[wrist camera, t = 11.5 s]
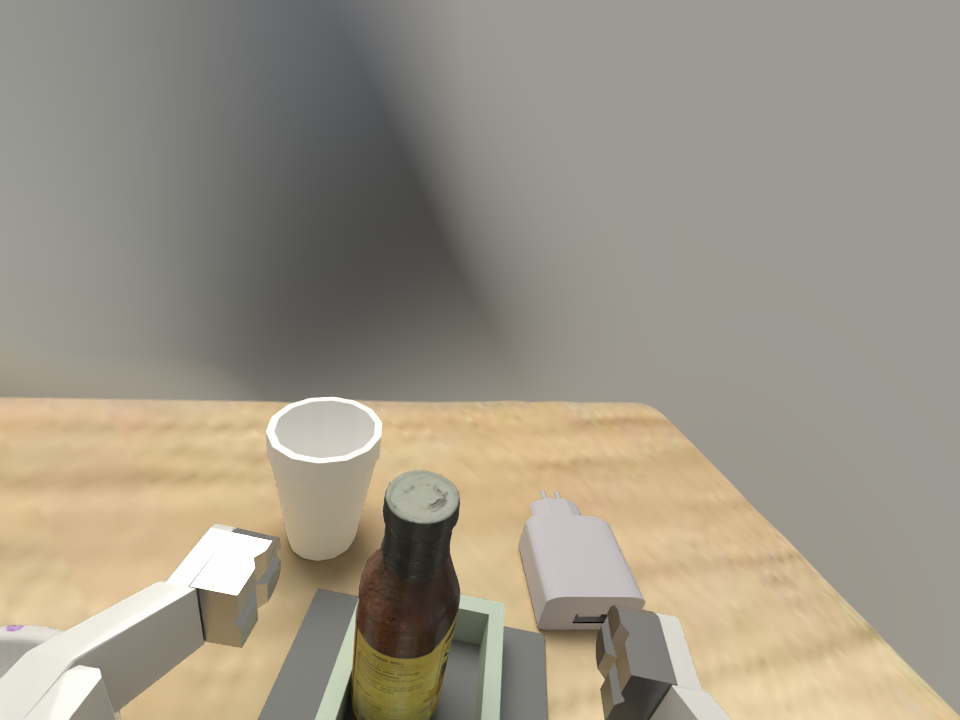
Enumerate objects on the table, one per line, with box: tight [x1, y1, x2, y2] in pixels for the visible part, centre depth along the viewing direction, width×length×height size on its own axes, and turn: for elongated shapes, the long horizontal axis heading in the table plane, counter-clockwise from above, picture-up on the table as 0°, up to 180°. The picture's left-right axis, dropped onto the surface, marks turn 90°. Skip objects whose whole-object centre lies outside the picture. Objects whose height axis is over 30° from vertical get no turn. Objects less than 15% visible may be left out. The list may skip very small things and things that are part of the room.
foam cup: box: [266, 397, 382, 561], centre depth 42 cm, size 10×9×13 cm
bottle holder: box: [315, 594, 505, 720], centre depth 32 cm, size 11×12×4 cm
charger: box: [519, 490, 645, 630], centre depth 47 cm, size 5×9×15 cm
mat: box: [258, 589, 548, 720], centre depth 32 cm, size 20×16×1 cm
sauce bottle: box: [351, 470, 460, 720], centre depth 28 cm, size 6×6×20 cm
